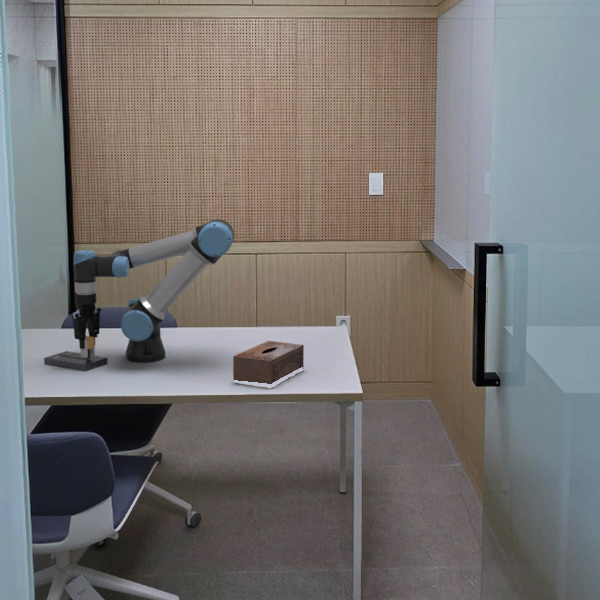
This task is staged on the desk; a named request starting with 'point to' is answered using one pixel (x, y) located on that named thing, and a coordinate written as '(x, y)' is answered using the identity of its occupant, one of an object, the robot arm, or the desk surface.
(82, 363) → the panel
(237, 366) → the tissue box cover
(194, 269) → the robot arm
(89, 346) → the dimmer fader
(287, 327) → the desk surface
